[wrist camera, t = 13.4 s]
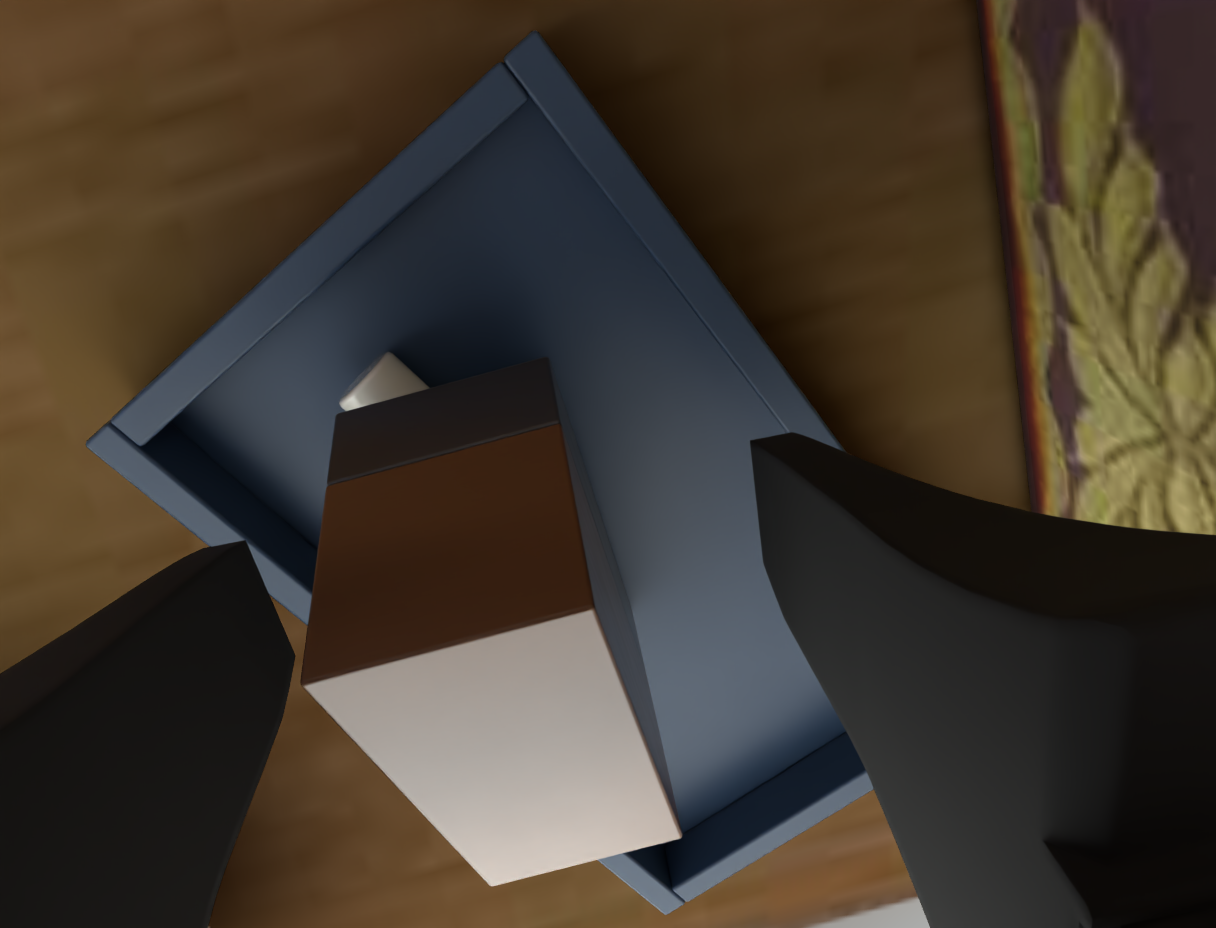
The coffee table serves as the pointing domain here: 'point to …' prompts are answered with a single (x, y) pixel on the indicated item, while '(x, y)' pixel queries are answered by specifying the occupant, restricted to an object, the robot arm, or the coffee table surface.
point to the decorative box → (1110, 251)
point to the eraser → (486, 628)
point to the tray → (596, 406)
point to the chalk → (381, 383)
